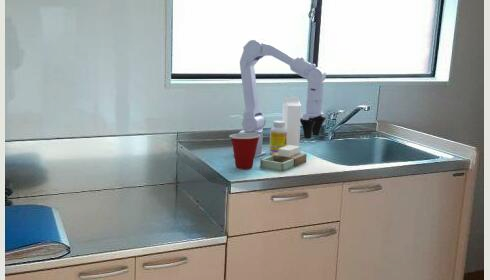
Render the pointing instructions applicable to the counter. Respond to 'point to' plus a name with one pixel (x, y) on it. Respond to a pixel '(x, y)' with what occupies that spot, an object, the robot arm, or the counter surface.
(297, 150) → the tile back
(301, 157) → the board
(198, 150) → the counter surface
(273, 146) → the supplement bottle
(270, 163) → the tray
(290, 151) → the tile front
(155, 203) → the counter surface
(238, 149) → the plastic cup
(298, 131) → the milk
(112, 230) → the counter surface
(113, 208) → the counter surface
